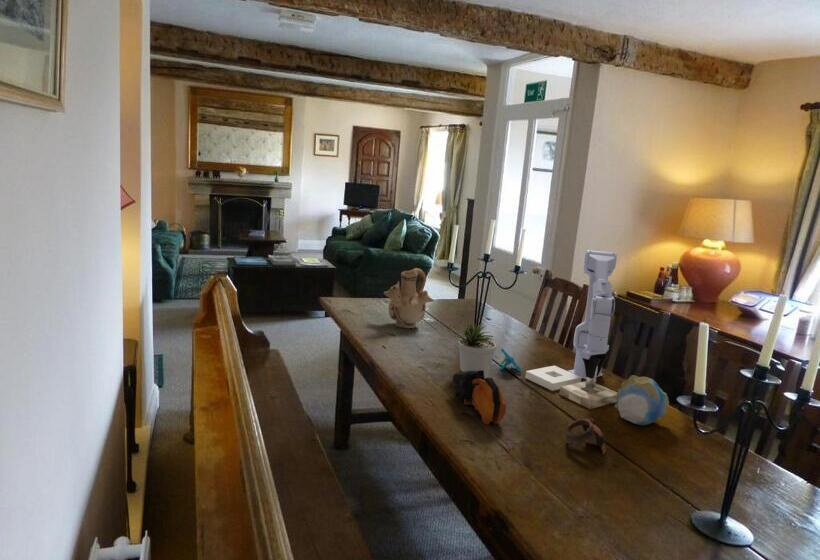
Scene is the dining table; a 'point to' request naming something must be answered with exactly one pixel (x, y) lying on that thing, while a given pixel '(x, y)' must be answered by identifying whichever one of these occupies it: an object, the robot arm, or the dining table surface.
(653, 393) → the decorative rock
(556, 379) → the socket block
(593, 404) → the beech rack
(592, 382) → the steel peg
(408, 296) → the ceramic vessel
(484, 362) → the potted plant
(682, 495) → the dining table surface
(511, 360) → the blue irregular piece
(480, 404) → the tool
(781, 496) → the dining table surface
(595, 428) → the pottery mug
